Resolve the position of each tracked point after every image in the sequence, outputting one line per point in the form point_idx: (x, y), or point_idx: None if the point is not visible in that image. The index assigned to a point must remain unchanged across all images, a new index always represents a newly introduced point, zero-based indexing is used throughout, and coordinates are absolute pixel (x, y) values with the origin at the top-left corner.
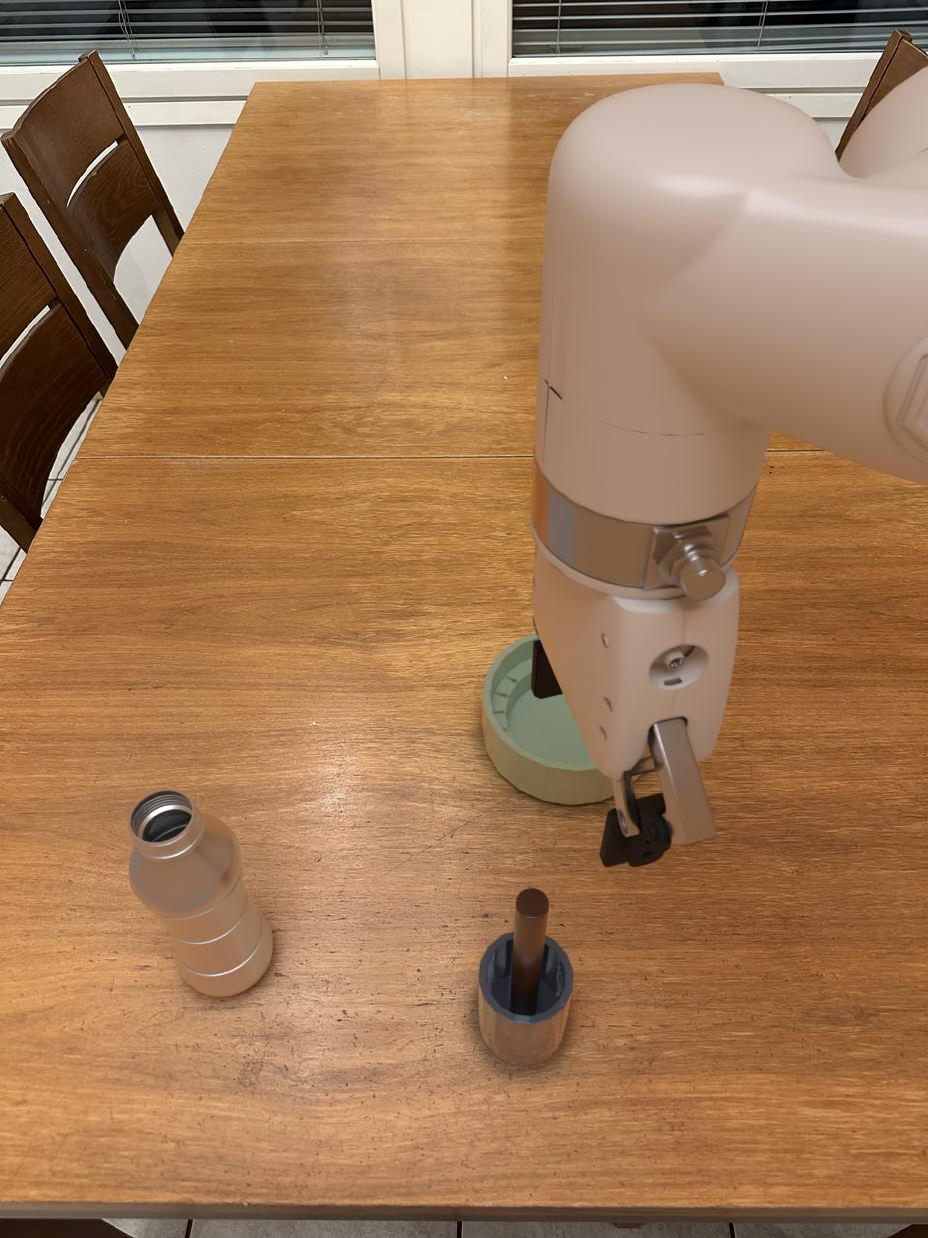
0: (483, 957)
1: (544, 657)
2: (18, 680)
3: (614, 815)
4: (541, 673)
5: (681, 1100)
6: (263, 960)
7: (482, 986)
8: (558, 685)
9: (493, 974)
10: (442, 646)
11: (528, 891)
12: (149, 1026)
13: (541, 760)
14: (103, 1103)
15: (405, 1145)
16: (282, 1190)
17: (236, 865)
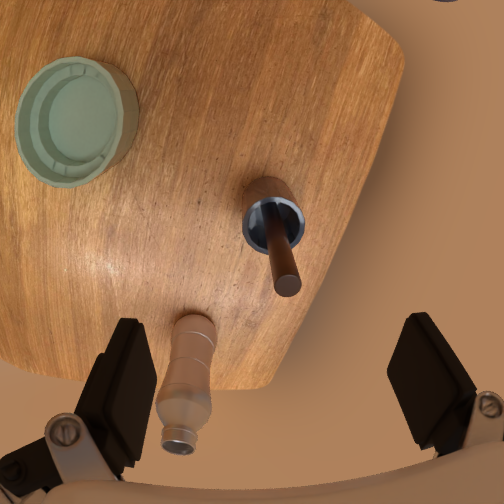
0: (254, 248)
1: (139, 450)
2: (56, 375)
3: (428, 445)
4: (146, 421)
5: (335, 132)
6: (206, 326)
7: None
8: (147, 376)
9: (251, 226)
10: (19, 188)
11: (277, 286)
12: (218, 354)
13: (109, 157)
14: (245, 368)
15: (305, 270)
16: (301, 317)
17: (190, 394)
